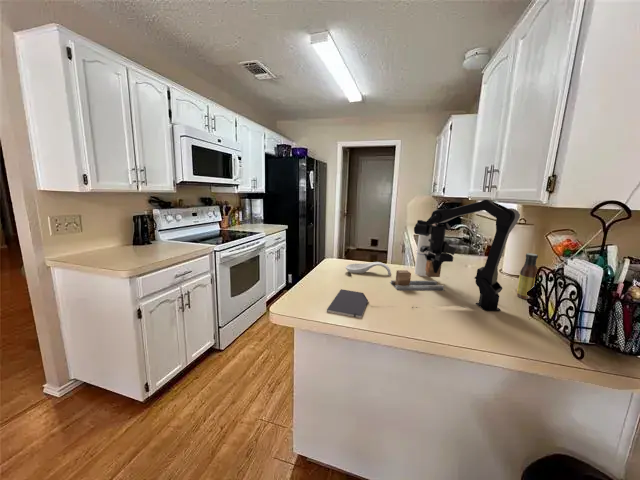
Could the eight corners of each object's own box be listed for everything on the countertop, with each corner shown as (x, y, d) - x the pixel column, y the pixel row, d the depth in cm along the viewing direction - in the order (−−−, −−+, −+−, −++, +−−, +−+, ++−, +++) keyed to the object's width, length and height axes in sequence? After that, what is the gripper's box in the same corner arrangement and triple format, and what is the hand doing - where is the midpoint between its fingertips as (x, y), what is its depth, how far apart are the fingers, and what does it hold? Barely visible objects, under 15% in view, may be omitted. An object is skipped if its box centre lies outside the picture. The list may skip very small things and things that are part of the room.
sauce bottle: (527, 295, 125) (536, 252, 121) (536, 301, 119) (546, 256, 115) (512, 294, 126) (520, 251, 122) (520, 299, 120) (529, 255, 116)
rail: (444, 293, 123) (445, 287, 122) (397, 293, 120) (397, 287, 120) (433, 285, 132) (434, 279, 132) (389, 285, 130) (389, 279, 130)
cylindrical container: (414, 277, 143) (419, 230, 138) (413, 273, 149) (419, 228, 145) (429, 279, 141) (435, 231, 136) (427, 275, 148) (433, 229, 143)
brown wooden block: (439, 277, 124) (441, 262, 123) (427, 277, 124) (429, 261, 122) (435, 274, 128) (437, 260, 126) (424, 274, 127) (426, 259, 126)
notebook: (340, 292, 120) (326, 313, 100) (340, 289, 120) (326, 309, 100) (369, 297, 116) (361, 319, 97) (370, 293, 116) (361, 315, 96)
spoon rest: (343, 275, 142) (344, 262, 141) (346, 269, 153) (347, 256, 152) (390, 281, 137) (392, 267, 136) (390, 274, 148) (391, 261, 147)
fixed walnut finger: (409, 287, 124) (411, 272, 123) (397, 287, 123) (399, 272, 122) (406, 284, 127) (408, 270, 126) (395, 284, 127) (396, 270, 125)
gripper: (467, 242, 114) (462, 278, 117) (443, 234, 132) (439, 265, 135) (442, 242, 113) (437, 278, 116) (421, 234, 131) (417, 265, 134)
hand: (433, 271), depth 125 cm, fingers closed on brown wooden block, 3 cm apart
